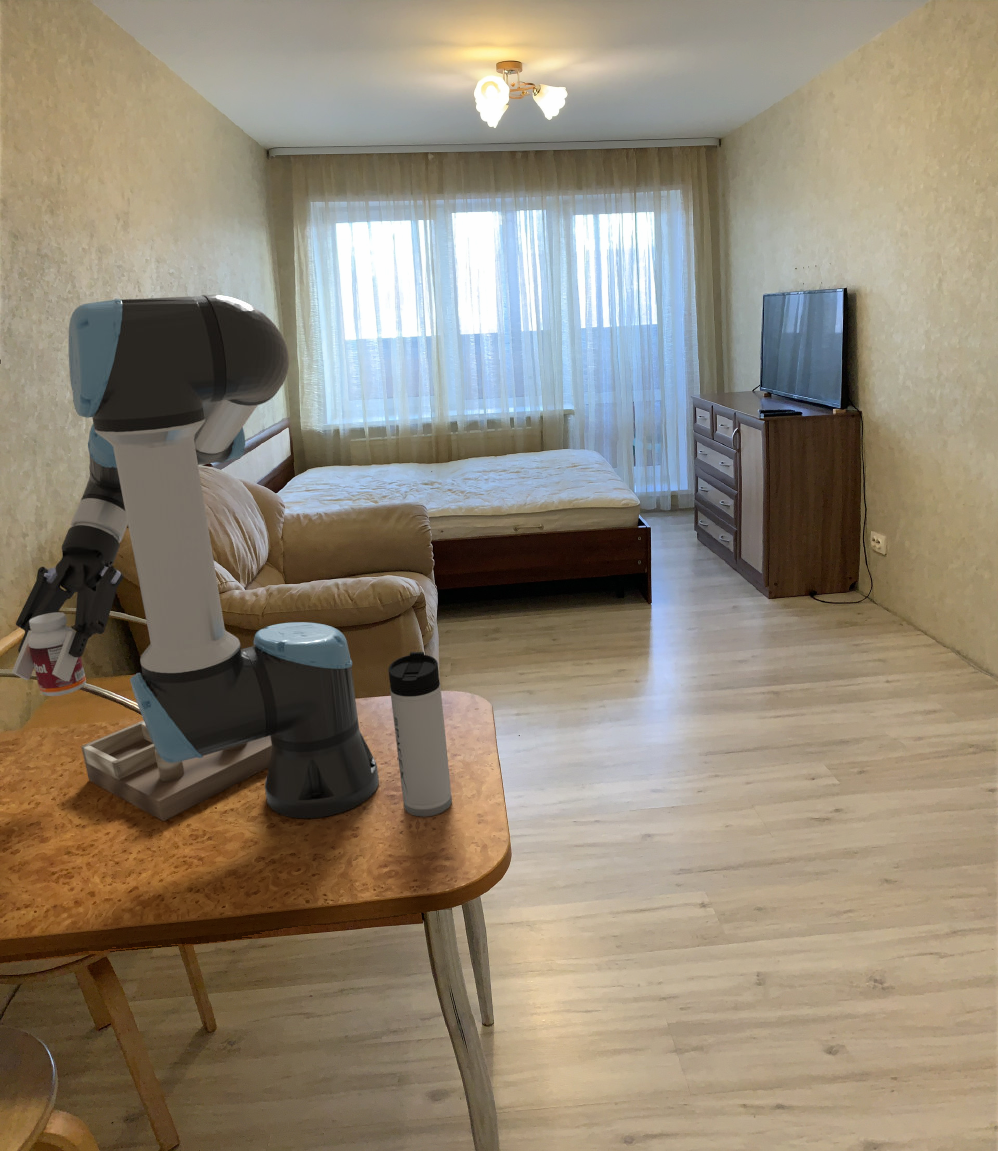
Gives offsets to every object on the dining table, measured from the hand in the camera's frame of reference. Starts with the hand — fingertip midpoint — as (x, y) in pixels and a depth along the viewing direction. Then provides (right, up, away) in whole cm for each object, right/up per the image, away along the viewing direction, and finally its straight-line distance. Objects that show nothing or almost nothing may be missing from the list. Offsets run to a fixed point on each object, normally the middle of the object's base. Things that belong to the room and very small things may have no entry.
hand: (40, 676), depth 124 cm
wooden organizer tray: (+19, -14, +5) cm, 24 cm away
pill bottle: (+1, -2, +4) cm, 5 cm away
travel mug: (+55, -16, -9) cm, 58 cm away
